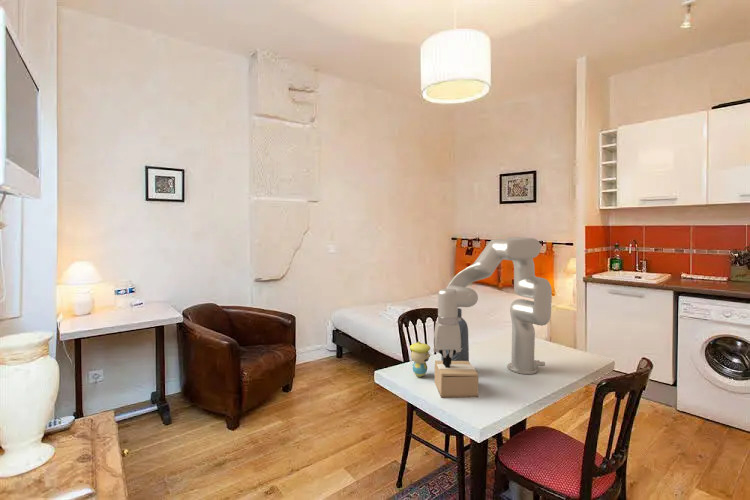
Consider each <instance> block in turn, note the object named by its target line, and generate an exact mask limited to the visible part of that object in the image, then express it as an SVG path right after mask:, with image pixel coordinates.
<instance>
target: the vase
mask: <svg viewBox="0 0 750 500" xmlns="http://www.w3.org/2000/svg"><path fill="white" fill-rule="evenodd" d="M462 311H463V310H462V308H461V307H458V317H459V318H461V321H458V324H459V327H460V335H461V352H457V353H455V354H454V355H453V356H452V358H451V361H469V362H470V353H469V351H470V348H469V328H468V323H467V322H466V320H465V319H464V318H463V317H462V315H463V313H462ZM447 354H448V350H446V355H447ZM440 356H441V359H440V361H443V356H442V355H441V354H440Z"/></svg>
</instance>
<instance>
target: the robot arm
mask: <svg viewBox="0 0 750 500" xmlns="http://www.w3.org/2000/svg"><path fill="white" fill-rule="evenodd" d="M541 249H542V247H541V243H540V241H539V240H538V239H537V238H534V237H519V236H511V237H506V238H494V239H492V240H490V241H489V242H487V244H486V246H485V247H484V249H483V250H482V251H481V252H480V254H479V255H478V257H477V258H476V259H475V260H474V262H473V263H472V264H471V265H469V266H467V267H465V268H464V269H463V270H461V271H459V272H458V273H457V274H456V275H454V276H453V278H452V279H451V281H450V282H448V284H447V286H446V288H441V289H439V290H438V293H437V294H438V296H437V322H435V325H434V334H433V352H434V353H437V354H440V356H441V355H442V356H443V365H444V366H445V367H446V368H447V367H448V368H450V365H451V358H452V356H453V355H454V354H455V353H457V352H461V335H460V327H459V324H458V321H461V318H459V317H458V308H471V307H474V306H475V305H476V304H477V302H478V300H479V295H478V293H477V292H476V290H475V289H472V288H470V287H467V286H468V285H470V284H472V283H474V282H478V281H480V280H481V281H482V280H484V279H488V278H490V277H491V276H492V275H493V274H494V272H495V271H496V269H497V267H498V266H499V265H500V264H501V263H502V261H504V260H505V261H512V263H513V269H514V270H513V288H514V293H515V294H516V295H517V296H519V297H523V298H528V299H523V298H517V299H515V300H513V302H512V303H511V304H510V307H509V312H510V314H509V315H510V318H511V362H509V363H508V364H507V369H508V370H509V371H511V372H514V373H515V374H516V373H517V374H519V375H520V374H521V375H533V374H534V375H535V374H536V373H538V371H539V368H538V367H545V366H546V362H545V361H540V360H539V359H536V360H535V345H536V344H535V343H536V342H535V340H536V338H535V337H536V331H535V327H534V325H535V326H547V324H549V322H550V321H551V317H552V299H553V297H552V295H553V293H552V292H553V291H552V285H551V283H550V282H549V280H548V279H546V278H544V277H539V276H536V273H535V271H536V270H535V263H534V258H537V257H538V256H539V255H540V253H541ZM529 299H533V300H529ZM446 350H448V354H447V355H446Z"/></svg>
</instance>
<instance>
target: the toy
mask: <svg viewBox="0 0 750 500" xmlns="http://www.w3.org/2000/svg"><path fill="white" fill-rule="evenodd" d="M409 349H410V351H411V353H410V357H411V359H412V361H413V363H412V371H413V373H414V375H415V376H416V377H424V376H425V374H426V373H427V372H428V365H427V362H428V361H429V359H430V357H431V354H430V353H429V352H430V350H431V347H430V345H429V344H427V343H423V342H421V341H417V342H414V343H412V344H411V345H410V346H409Z"/></svg>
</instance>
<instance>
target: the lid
mask: <svg viewBox="0 0 750 500" xmlns="http://www.w3.org/2000/svg"><path fill="white" fill-rule="evenodd" d="M435 364H436V366H437V368H438V370H439V372H440V374H441V376H478V377H479V373H478V372H477V371H476V368H475V367H474V366H473V364H471V362H470V360H469V361H451V365H450V368H448V367H447V368H446V367H445V366H444V365H443V361H441V360H434V365H435Z"/></svg>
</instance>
